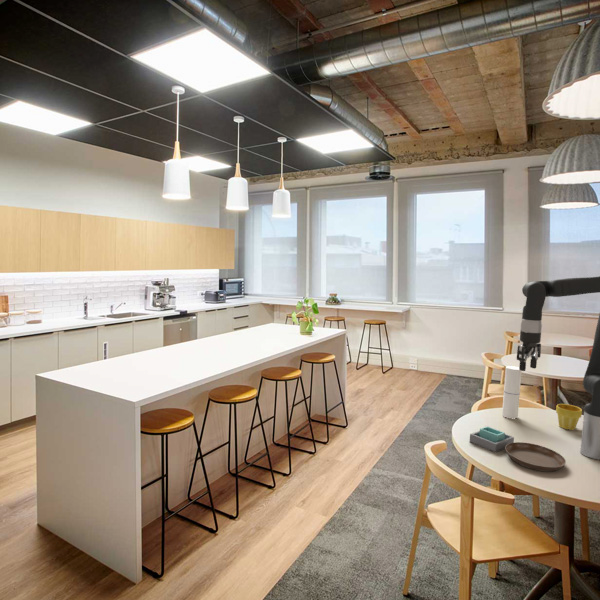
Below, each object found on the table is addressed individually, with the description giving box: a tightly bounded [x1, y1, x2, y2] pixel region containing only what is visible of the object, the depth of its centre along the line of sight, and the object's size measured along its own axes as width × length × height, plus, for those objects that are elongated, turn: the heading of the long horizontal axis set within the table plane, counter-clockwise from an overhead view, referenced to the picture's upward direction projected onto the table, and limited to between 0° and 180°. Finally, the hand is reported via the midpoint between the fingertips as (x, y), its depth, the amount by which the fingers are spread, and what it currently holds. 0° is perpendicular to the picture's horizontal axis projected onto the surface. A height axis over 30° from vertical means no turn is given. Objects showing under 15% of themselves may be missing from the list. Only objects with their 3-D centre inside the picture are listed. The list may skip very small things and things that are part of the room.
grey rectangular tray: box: [469, 430, 515, 453], centre depth 181 cm, size 14×12×4 cm
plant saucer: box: [504, 441, 567, 472], centre depth 166 cm, size 21×21×3 cm
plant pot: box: [555, 403, 583, 431], centre depth 202 cm, size 10×10×10 cm
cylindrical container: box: [501, 365, 523, 420], centre depth 213 cm, size 7×7×25 cm
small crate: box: [479, 426, 506, 443], centre depth 181 cm, size 6×8×5 cm
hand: (527, 369), depth 176 cm, fingers open, 8 cm apart
